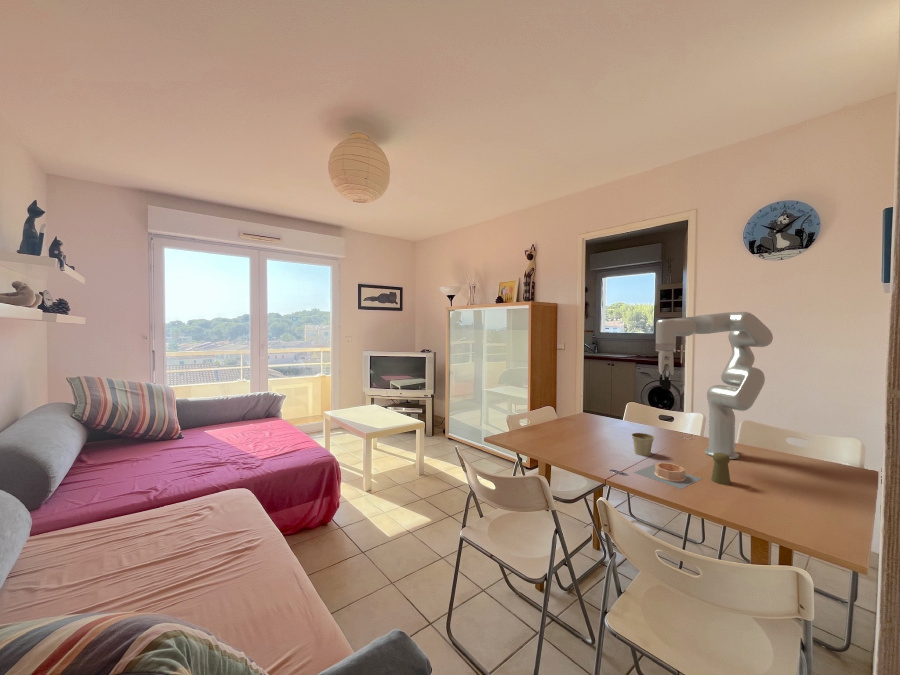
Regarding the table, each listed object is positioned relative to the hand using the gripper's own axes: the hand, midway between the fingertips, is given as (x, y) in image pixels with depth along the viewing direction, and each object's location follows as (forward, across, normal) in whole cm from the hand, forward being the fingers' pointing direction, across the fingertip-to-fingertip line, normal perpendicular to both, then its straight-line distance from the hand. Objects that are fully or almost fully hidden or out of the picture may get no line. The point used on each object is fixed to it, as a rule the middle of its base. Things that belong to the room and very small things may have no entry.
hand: (664, 387), depth 162 cm
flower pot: (+32, +5, +8) cm, 34 cm away
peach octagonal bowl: (+32, -19, 0) cm, 37 cm away
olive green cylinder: (+32, -17, -17) cm, 40 cm away
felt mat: (+32, -18, 0) cm, 37 cm away
